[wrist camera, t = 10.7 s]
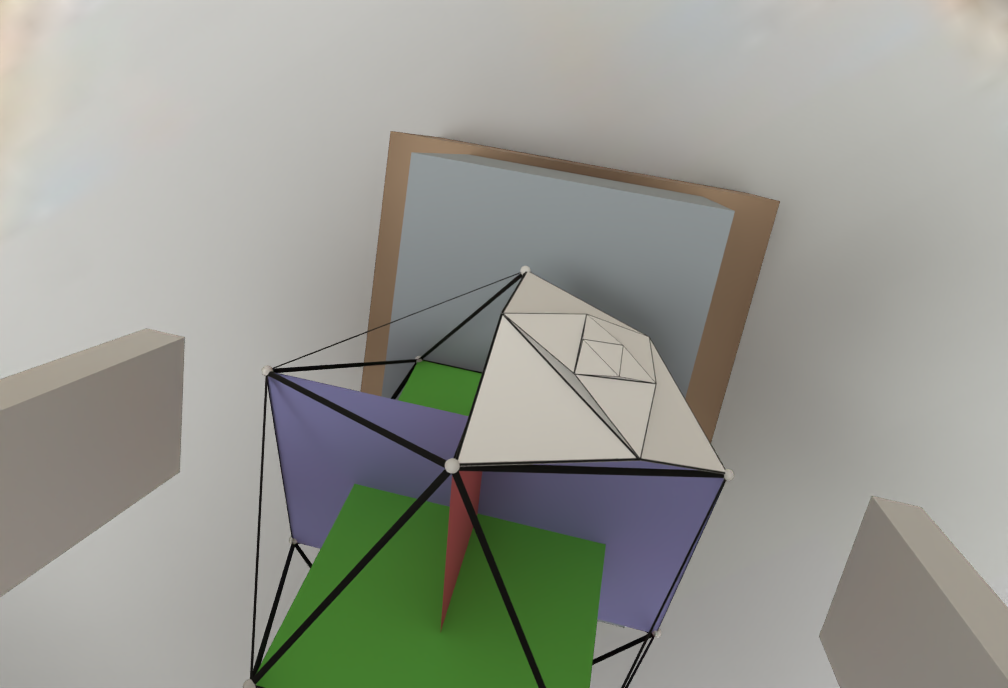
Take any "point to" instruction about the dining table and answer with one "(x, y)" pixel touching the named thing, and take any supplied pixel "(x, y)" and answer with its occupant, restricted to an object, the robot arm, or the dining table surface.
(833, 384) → the dining table surface
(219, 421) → the dining table surface
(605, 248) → the tower top block
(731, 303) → the tower base block
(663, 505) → the geometric puzzle
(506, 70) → the dining table surface
